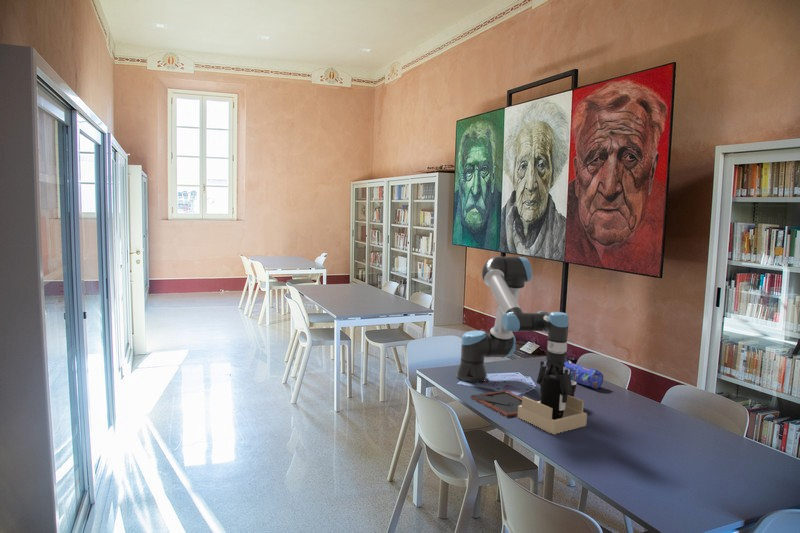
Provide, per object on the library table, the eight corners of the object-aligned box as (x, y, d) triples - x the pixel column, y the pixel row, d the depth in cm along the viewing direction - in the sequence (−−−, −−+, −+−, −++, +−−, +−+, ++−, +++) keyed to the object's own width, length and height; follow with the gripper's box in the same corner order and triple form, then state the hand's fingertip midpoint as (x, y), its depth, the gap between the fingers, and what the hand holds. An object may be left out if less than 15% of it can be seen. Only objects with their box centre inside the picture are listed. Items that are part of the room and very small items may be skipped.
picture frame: (470, 399, 243) (506, 419, 221) (470, 394, 243) (507, 414, 221) (505, 393, 252) (543, 412, 231) (505, 389, 252) (543, 407, 230)
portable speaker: (566, 425, 215) (570, 377, 213) (543, 425, 214) (546, 377, 212) (558, 417, 223) (562, 371, 221) (536, 417, 223) (539, 370, 221)
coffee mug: (570, 409, 234) (572, 386, 233) (551, 404, 239) (553, 382, 238) (580, 402, 243) (581, 380, 242) (561, 397, 248) (563, 376, 247)
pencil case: (557, 378, 279) (558, 359, 278) (568, 375, 283) (569, 358, 282) (592, 391, 260) (594, 371, 259) (604, 388, 265) (605, 369, 264)
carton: (517, 417, 221) (518, 395, 220) (549, 409, 232) (550, 388, 231) (553, 434, 206) (555, 410, 205) (586, 425, 216) (588, 402, 215)
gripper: (529, 345, 223) (526, 399, 225) (572, 359, 205) (567, 416, 207) (542, 344, 227) (538, 396, 229) (585, 356, 209) (580, 413, 211)
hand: (552, 406), depth 218 cm, fingers closed on portable speaker, 9 cm apart
